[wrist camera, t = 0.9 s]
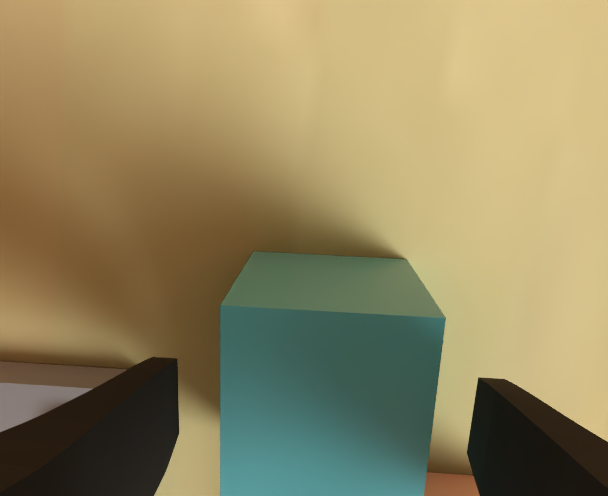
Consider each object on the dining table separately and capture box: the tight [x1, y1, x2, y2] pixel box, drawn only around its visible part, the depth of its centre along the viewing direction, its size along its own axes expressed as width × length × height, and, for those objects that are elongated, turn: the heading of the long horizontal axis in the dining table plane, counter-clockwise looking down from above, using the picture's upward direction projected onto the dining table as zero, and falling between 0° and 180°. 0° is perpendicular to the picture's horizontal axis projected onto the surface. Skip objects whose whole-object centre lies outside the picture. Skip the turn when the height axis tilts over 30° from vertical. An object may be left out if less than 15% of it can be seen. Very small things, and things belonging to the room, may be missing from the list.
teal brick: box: [220, 251, 446, 496], centre depth 12 cm, size 6×4×4 cm
